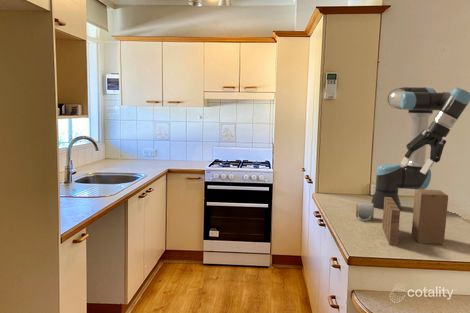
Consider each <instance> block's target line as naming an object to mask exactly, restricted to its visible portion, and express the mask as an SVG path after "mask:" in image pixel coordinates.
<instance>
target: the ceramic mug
mask: <svg viewBox="0 0 470 313" xmlns="http://www.w3.org/2000/svg"><path fill="white" fill-rule="evenodd" d="M374 208H375V207H374V204H373V203H371V202H370V203H369V202H368V203H366V202H365V203H364V202H362V203H361V202H359V203H356V206H355V216H356V218H358V219H357V220H359V221H361V222H363V221H364V223H366V222H370V220H374V216H375V215H374V214H375V212H374V210H375V209H374Z"/></svg>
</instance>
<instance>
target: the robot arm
mask: <svg viewBox="0 0 470 313" xmlns="http://www.w3.org/2000/svg"><path fill="white" fill-rule="evenodd" d="M387 103H388V105H389V106H390V107H392V108H394V109H398V110H404V111H405V110H407V112H408V113H407V114H408V115H409V116H410V125H409V126H410V127H409V136H408V143H407V144H406V146H405V147H406V149H407V151H406V153H405V154H404V156H403V158H402V160H401V161H400V163H399V164H398V163H385V164H380V165H378V166H377V169H376V174H375V176H376V177H375V178H376V179H375V191H374V194H373V196H372V198H371V201H370V203H373V204H374V208H376V209H381V210H384V197H392V199H393V200H394V202H395V203H396V205H397V207H398V208H399V210H401V205H402V204H401V202H400V201H401V200H400V197H399V190H400V189H403V190H416V189H424V190H427V188H428V187H429V185H430V183H431V180H432V172H431V171H432V170H431V167H433V165H434V163H436V164H437V163H438V162H440V160H441V159H442V154H443V151H444V148H445V145H446V143H447V140H446V139H444V138H446V137H447V136H448V134H449V133H450V131H451V129H452V128H453V127H454V125H455V124H456V122H457V121H458V119H459V118H460V116H461V115H462V114H463V112H464V110H465V109H466V107H467V106H468V105H469V104H470V92H469V91H467V90H465V89H463V88H459V87H454V88H453V89H452V90H451V91H450V92H448V91H447V92H445V91H444V92H437V91H436V90H435V89H434V88H432V87H416V86H415V87H413V86H412V87H397V88H395V89H393V90H391V91H390V92H389V93H388V95H387ZM434 111H438V112H437V114H436V115H435V116H434V118H433V121H432V122H431V123H430V125H429V121H430V120H429V119H430V116H432V115H433V112H434ZM427 145H429V146H430V157H429V158H428V159H427V160H426V153H427ZM401 165H402V166H401Z"/></svg>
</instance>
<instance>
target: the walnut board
mask: <svg viewBox="0 0 470 313" xmlns="http://www.w3.org/2000/svg"><path fill="white" fill-rule="evenodd" d="M382 210H383V214H382V225H381V226H382V230H383V232H384V235H385V238H386V241H387V243H388V245H389V246H396V247H397V246H399V245H398V243H399V234H400V233H399V230H400V218H401V217H400V216H401V209H399V208H398V207H397V205H396V203H395V202H394V200H393V199H392V197H384V209H382Z"/></svg>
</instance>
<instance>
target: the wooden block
mask: <svg viewBox="0 0 470 313" xmlns="http://www.w3.org/2000/svg"><path fill="white" fill-rule="evenodd" d="M413 201H414V202H413V211H412V212H413V214H412V222H411V223H412V225H411V236H412V237H413V238H414V240H415V241H416V242H417V243H419V244H421V243H424V244H435V245H444V243H445V237H446V236H445V235H446V227H447V226H446V225H447V216H448V215H447V214H448V203H449V195H448V194H446V193H445V192H443V191H442V190H438V189H436V190H435V189H414V200H413Z"/></svg>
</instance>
